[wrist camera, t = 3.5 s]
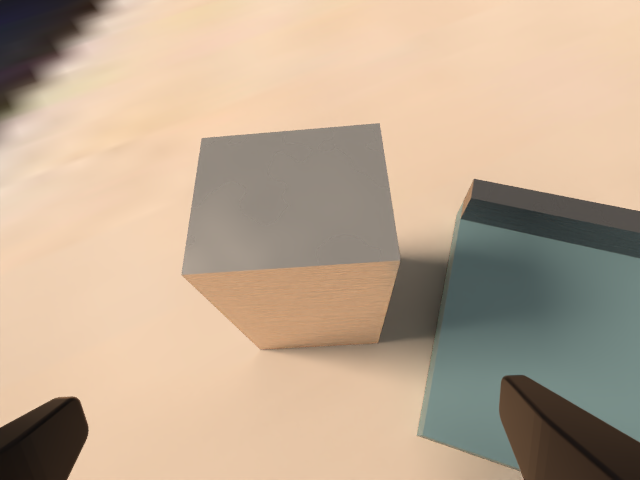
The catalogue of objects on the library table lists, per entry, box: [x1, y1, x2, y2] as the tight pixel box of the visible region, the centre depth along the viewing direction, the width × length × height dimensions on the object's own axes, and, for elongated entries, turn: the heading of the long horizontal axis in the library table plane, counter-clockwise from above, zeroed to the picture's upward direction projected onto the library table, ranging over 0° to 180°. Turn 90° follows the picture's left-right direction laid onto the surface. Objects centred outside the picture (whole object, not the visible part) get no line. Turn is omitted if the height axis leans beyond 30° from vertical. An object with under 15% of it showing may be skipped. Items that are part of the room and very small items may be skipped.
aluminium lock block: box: [182, 123, 401, 350], centre depth 16 cm, size 5×6×10 cm
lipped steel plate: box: [417, 179, 640, 471], centre depth 16 cm, size 12×12×4 cm
